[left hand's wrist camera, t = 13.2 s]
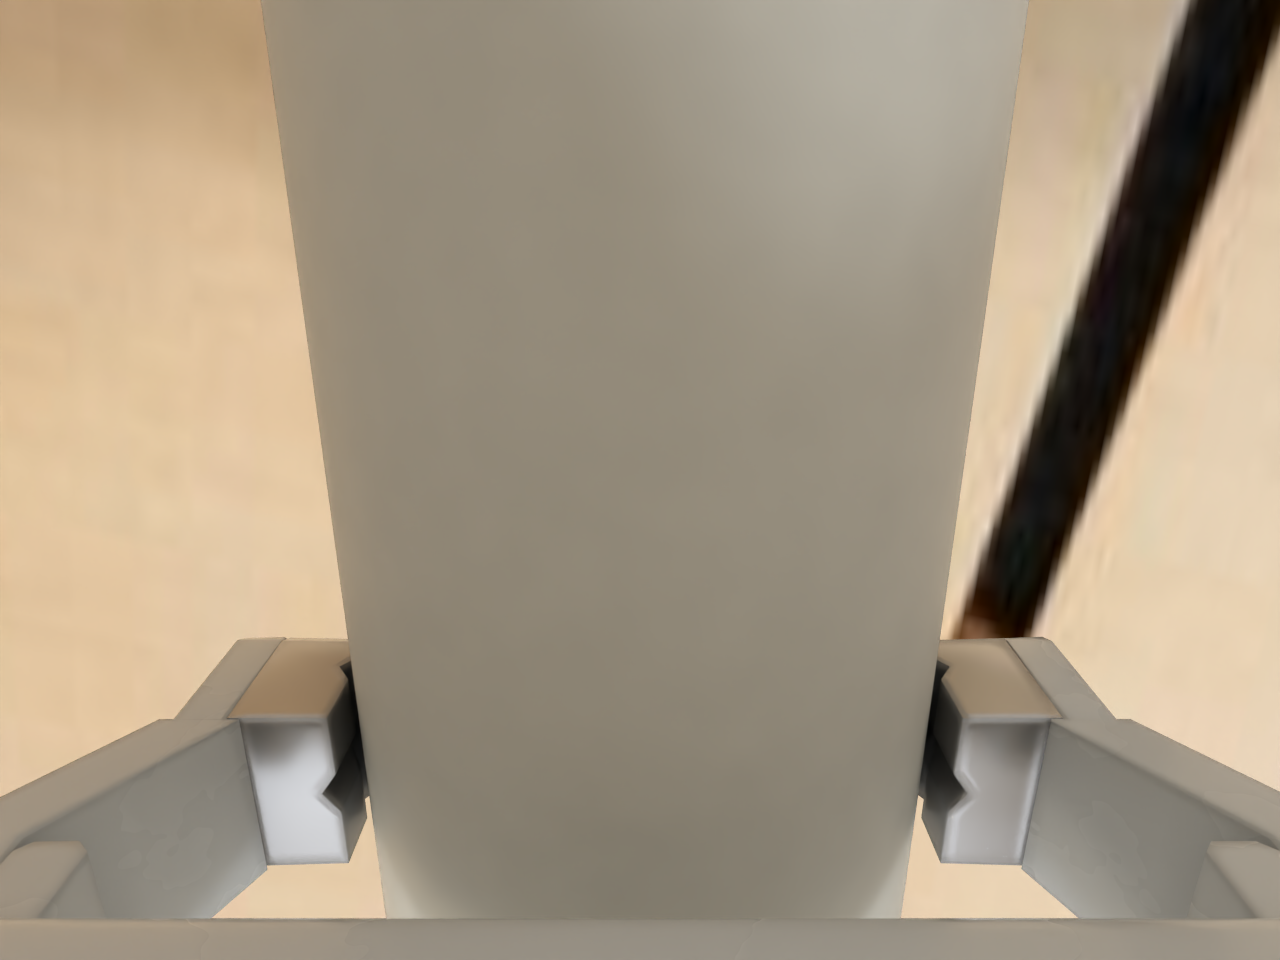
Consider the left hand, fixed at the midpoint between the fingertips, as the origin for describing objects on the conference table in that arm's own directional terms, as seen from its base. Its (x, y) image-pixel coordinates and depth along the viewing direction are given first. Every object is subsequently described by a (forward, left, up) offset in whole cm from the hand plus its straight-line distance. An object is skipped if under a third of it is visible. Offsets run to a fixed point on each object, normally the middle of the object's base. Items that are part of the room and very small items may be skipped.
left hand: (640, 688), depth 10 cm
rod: (+2, +8, -3) cm, 9 cm away
